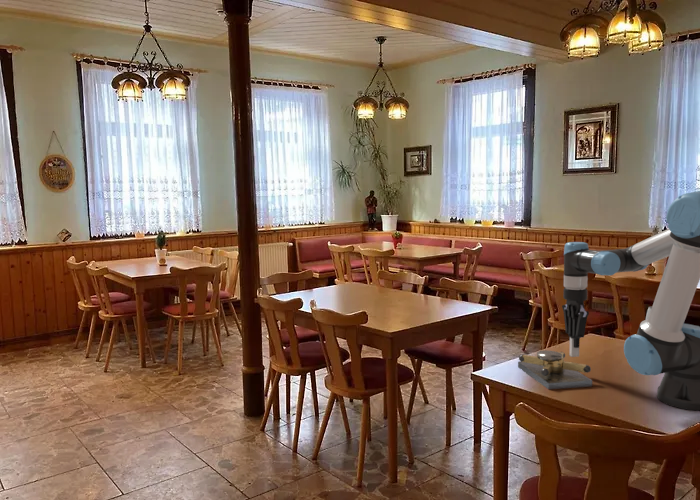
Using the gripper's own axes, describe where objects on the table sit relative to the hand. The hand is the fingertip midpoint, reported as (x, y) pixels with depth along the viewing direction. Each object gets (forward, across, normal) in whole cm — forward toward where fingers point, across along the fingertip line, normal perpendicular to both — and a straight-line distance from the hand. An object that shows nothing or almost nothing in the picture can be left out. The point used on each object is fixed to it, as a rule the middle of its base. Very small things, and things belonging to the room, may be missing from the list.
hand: (574, 356), depth 196 cm
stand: (+6, -1, +8) cm, 10 cm away
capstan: (+4, -1, +8) cm, 9 cm away
